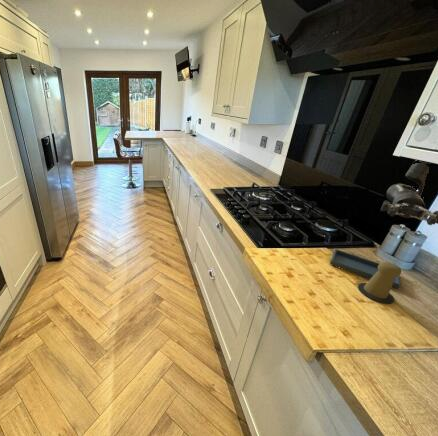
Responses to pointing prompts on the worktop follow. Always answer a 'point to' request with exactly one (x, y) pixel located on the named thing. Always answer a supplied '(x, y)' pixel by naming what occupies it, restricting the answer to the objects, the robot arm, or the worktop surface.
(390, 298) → the coaster
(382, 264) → the cork
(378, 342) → the worktop surface
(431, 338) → the worktop surface
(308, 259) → the worktop surface
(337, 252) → the tray
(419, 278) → the worktop surface
